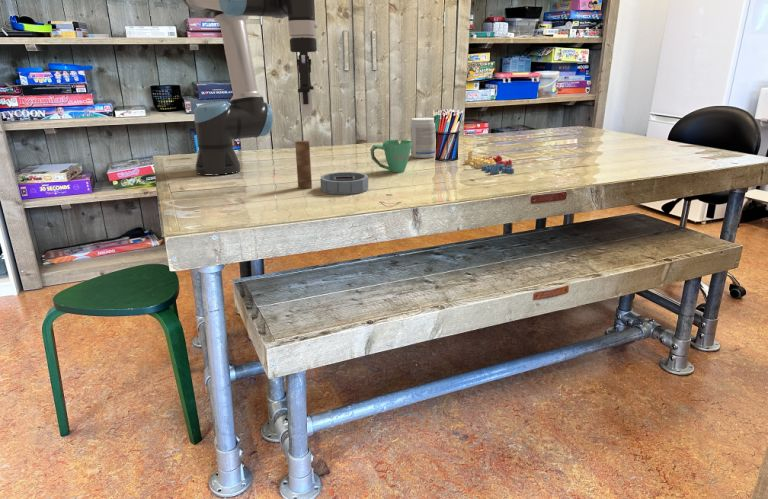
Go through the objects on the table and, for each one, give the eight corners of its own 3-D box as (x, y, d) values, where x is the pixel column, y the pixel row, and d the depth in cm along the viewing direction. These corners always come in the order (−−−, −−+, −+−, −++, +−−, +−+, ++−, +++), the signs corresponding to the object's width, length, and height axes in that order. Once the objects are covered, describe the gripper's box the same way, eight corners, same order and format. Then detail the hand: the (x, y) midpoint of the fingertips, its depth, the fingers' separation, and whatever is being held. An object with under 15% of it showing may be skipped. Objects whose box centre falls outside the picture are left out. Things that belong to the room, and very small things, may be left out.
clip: (334, 188, 159) (333, 179, 158) (334, 185, 163) (333, 176, 162) (355, 188, 160) (354, 179, 159) (354, 184, 164) (354, 175, 163)
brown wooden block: (298, 188, 163) (295, 142, 158) (298, 187, 165) (295, 141, 160) (311, 188, 163) (308, 141, 159) (311, 186, 165) (309, 140, 161)
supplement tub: (440, 156, 213) (440, 118, 208) (423, 159, 207) (424, 120, 202) (421, 153, 219) (422, 116, 214) (405, 156, 213) (405, 118, 208)
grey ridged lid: (320, 195, 155) (319, 182, 153) (322, 184, 168) (321, 172, 167) (369, 194, 156) (368, 181, 154) (367, 183, 169) (366, 171, 167)
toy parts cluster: (444, 154, 220) (444, 141, 218) (476, 152, 223) (477, 139, 221) (490, 176, 178) (491, 160, 177) (529, 174, 182) (530, 158, 180)
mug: (404, 167, 193) (404, 139, 189) (416, 172, 184) (416, 142, 181) (366, 170, 187) (365, 141, 184) (376, 176, 179) (375, 145, 175)
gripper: (315, 35, 142) (319, 117, 149) (316, 38, 166) (320, 110, 173) (286, 35, 141) (292, 118, 149) (292, 39, 165) (297, 110, 172)
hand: (307, 114), depth 161 cm, fingers open, 13 cm apart
